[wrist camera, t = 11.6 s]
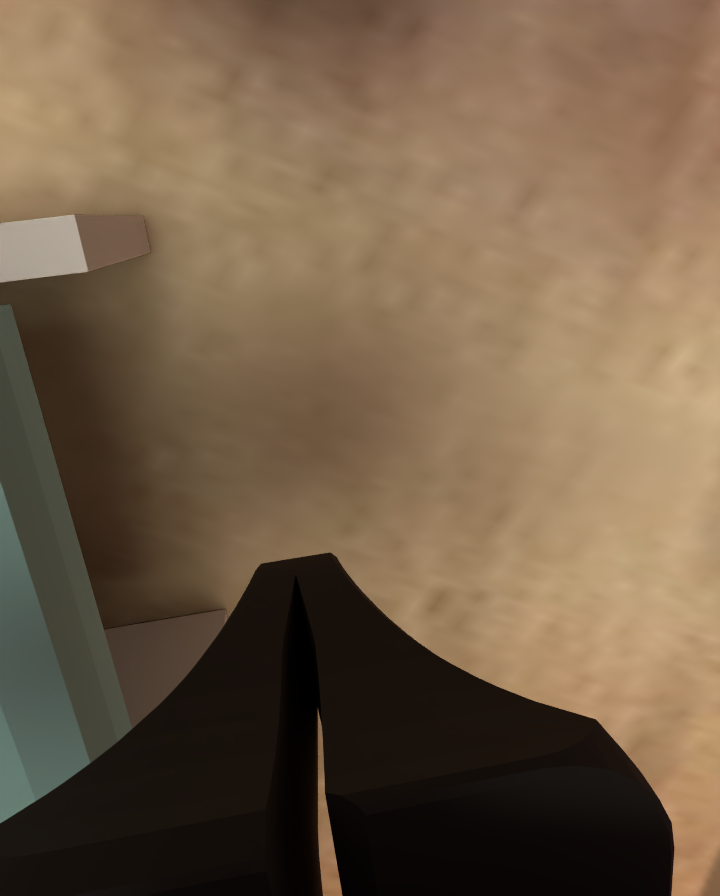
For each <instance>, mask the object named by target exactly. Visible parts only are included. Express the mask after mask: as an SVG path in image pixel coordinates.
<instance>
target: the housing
mask: <svg viewBox="0 0 720 896" xmlns="http://www.w3.org/2000/svg"><path fill="white" fill-rule="evenodd" d="M148 253H151V252H150V247H149V242H148V237H147V233H146V228H145V223H144V218H143V216H142V215H75V214H74V215H66V216H57V217H48V218H40V219H31V220H22V221H14V222H5V223H0V282H8V281H16V280H25V279H33V278H41V277H49V276H57V275H65V274H73V273H81V272H89V271H92V270H95V269H99V268H102V267H105V266H109V265H112V264H115V263H119V262H122V261H125V260H128V259H132V258H135V257H138V256H142V255H145V254H148ZM227 620H228V618H227V613H226V609H223V610H217V611H211V612H205V613H199V614H193V615H188V616H182V617H176V618H170V619H164V620H158V621H152V622H146V623H140V624H134V625H128V626H122V627H116V628H110V629H104V632H105V636H106V639H107V643H108V646H109V650H110V653H111V656H112V660H113V663H114V667H115V670H116V674H117V677H118V681H119V684H120V688H121V691H122V695H123V698H124V702H125V705H126V709H127V712H128V716H129V719H130V723H131V726H132V728H134V727H135V726H136V725H137V724H138V723H139V722H140V721H141V720H142V719H144V718H145V717H146V716H147V715H148V714H149V713H150V712H151V711H152V710H154V709H155V708H156V707H157V706H158V705H159V704H160V703H161V702H162V701H163V700H164V699H165V698H166V697H167V696H168V695H169V694H170V693H171V692H172V691H173V690H174V689H175V688H176V687H177V685H178V684H179V683H180V682H181V681H182V680H183V679H184V678H185V677H186V676H187V674H188V673H189V672H190V671H191V669H192V668H193V667H194V666H195V665H196V663H197V662H198V661H199V659H200V658H201V657H202V655H203V654H204V653H205V651H206V650H207V649H208V647H209V646H210V645H211V643H212V642H213V640H214V639H215V638H216V636H217V635H218V634H219V632H220V631H221V629H222V628H223V626H224V625H225V623H226V621H227Z"/></svg>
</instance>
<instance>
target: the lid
mask: <svg viewBox="0 0 720 896" xmlns="http://www.w3.org/2000/svg"><path fill="white" fill-rule="evenodd" d="M131 729H132V726H131V723H130V719H129V716H128V712H127V709H126V705H125V702H124V698H123V695H122V691H121V688H120V684H119V681H118V677H117V674H116V670H115V667H114V663H113V660H112V656H111V653H110V650H109V646H108V643H107V639H106V636H105V632H104V629H103V625H102V622H101V618H100V615H99V611H98V608H97V604H96V601H95V597H94V594H93V590H92V587H91V583H90V580H89V576H88V573H87V569H86V566H85V562H84V559H83V555H82V552H81V548H80V545H79V541H78V538H77V534H76V531H75V527H74V524H73V520H72V517H71V513H70V510H69V506H68V503H67V499H66V496H65V492H64V489H63V485H62V482H61V478H60V475H59V471H58V468H57V464H56V461H55V457H54V454H53V450H52V447H51V443H50V440H49V436H48V433H47V429H46V426H45V422H44V419H43V415H42V412H41V408H40V405H39V401H38V398H37V394H36V391H35V387H34V384H33V380H32V377H31V374H30V370H29V367H28V363H27V360H26V356H25V353H24V349H23V346H22V342H21V339H20V335H19V332H18V328H17V325H16V321H15V318H14V314H13V311H12V307H11V304H8V305H0V823H1V822H3V821H5V820H6V819H8V818H9V817H11V816H13V815H14V814H16V813H17V812H19V811H21V810H22V809H24V808H25V807H27V806H28V805H30V804H32V803H33V802H35V801H36V800H38V799H40V798H41V797H43V796H44V795H46V794H48V793H49V792H51V791H52V790H53V789H55V788H56V787H58V786H59V785H61V784H62V783H64V782H65V781H67V780H68V779H69V778H71V777H72V776H73V775H75V774H76V773H77V772H79V771H80V770H82V769H83V768H84V767H86V766H87V765H88V764H90V763H91V762H93V761H94V760H95V759H96V758H98V757H99V756H100V755H101V754H103V753H104V752H105V751H107V750H108V749H109V748H110V747H112V746H113V745H114V744H115V743H117V742H118V741H119V740H120V739H121V738H123V737H124V736H125V735H126V734H127V733H128V732H129V731H130V730H131Z"/></svg>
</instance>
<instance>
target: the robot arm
mask: <svg viewBox="0 0 720 896" xmlns="http://www.w3.org/2000/svg"><path fill="white" fill-rule="evenodd" d="M318 710H319V715H320V720H321V724H322V732H323V750H324V773H325V795H326V801H327V807H328V813H329V818H330V824H331V830H332V836H333V842H334V848H335V854H336V860H337V866H338V871H339V877H340V883H341V889H342V895H343V896H671V890H672V875H673V860H674V841H673V832H672V823H671V821H670V819H669V817H668V815H667V813H666V811H665V809H664V807H663V805H662V804H661V802H660V800H659V798H658V797H657V795H656V794H655V792H654V791H653V789H652V788H651V786H650V785H649V783H648V782H647V780H646V779H645V777H644V776H643V774H642V773H641V772H640V770H639V769H638V768H637V767H636V765H635V764H634V763H633V762H632V761H631V759H630V758H629V757H628V756H627V755H626V753H625V752H624V751H623V750H622V749H621V747H620V746H619V745H618V744H617V743H616V742H615V741H614V739H613V738H612V737H611V736H610V735H609V734H608V733H607V731H606V730H605V729H604V728H603V727H602V726H601V725H600V723H599V722H598V721H597V720H596V719H593V718H589V717H586V716H582V715H579V714H576V713H572V712H569V711H566V710H562V709H559V708H555V707H552V706H549V705H545V704H542V703H538V702H535V701H533V700H530V699H527V698H525V697H522V696H519V695H517V694H514V693H512V692H509V691H507V690H504V689H502V688H499V687H497V686H495V685H492V684H490V683H488V682H486V681H484V680H481V679H479V678H477V677H475V676H473V675H471V674H469V673H468V672H466V671H464V670H462V669H460V668H458V667H456V666H454V665H453V664H451V663H449V662H447V661H445V660H444V659H442V658H440V657H439V656H437V655H435V654H434V653H432V652H431V651H430V650H428V649H427V648H425V647H424V646H422V645H421V644H420V643H418V642H417V641H416V640H414V639H413V638H412V637H410V636H409V635H408V634H407V633H405V632H404V631H403V630H402V629H401V628H399V627H398V626H397V625H396V624H395V623H394V622H393V621H391V620H390V619H389V618H388V617H387V616H386V615H385V614H384V613H383V612H382V611H381V610H380V609H378V608H377V606H376V605H375V604H374V603H373V602H372V601H371V600H370V599H369V598H368V597H367V596H366V595H365V594H364V593H363V592H362V591H361V590H360V588H359V587H358V586H357V585H356V584H355V583H354V581H353V580H352V579H351V578H350V576H349V575H348V574H347V572H346V571H345V570H344V568H343V567H342V565H341V564H340V562H339V560H338V558H337V557H336V556H334V555H333V554H332V553H324V554H318V555H312V556H306V557H300V558H294V559H287V560H281V561H275V562H269V563H263V564H261V565H260V566H259V567H258V568H257V570H256V571H255V573H254V575H253V577H252V579H251V581H250V583H249V585H248V586H247V588H246V590H245V592H244V594H243V595H242V597H241V599H240V601H239V602H238V604H237V606H236V607H235V609H234V610H233V612H232V614H231V615H230V617H229V618H228V620H227V621H226V623H225V625H224V626H223V628H222V629H221V631H220V632H219V634H218V635H217V636H216V638H215V639H214V640H213V642H212V643H211V645H210V646H209V647H208V649H207V650H206V651H205V653H204V654H203V655H202V657H201V658H200V659H199V661H198V662H197V663H196V665H195V666H194V667H193V668H192V669H191V671H190V672H189V673H188V674H187V676H186V677H185V678H184V679H183V680H182V681H181V682H180V683H179V684H178V685H177V687H176V688H175V689H174V690H173V691H172V692H171V693H170V694H169V695H168V696H167V697H166V698H165V699H164V700H163V701H162V702H161V703H160V704H159V705H158V706H157V707H156V708H155V709H154V710H152V711H151V712H150V713H149V714H148V715H147V716H146V717H145V718H144V719H142V720H141V721H140V722H139V723H138V724H137V725H136V726H135V727H134V728H132V729H131V730H130V731H129V732H128V733H127V734H126V735H125V736H124V737H123V738H121V739H120V740H119V741H118V742H117V743H115V744H114V745H113V746H112V747H110V748H109V749H108V750H107V751H105V752H104V753H103V754H101V755H100V756H99V757H98V758H96V759H95V760H94V761H93V762H91V763H90V764H88V765H87V766H86V767H84V768H83V769H82V770H80V771H79V772H77V773H76V774H75V775H73V776H72V777H71V778H69V779H68V780H67V781H65V782H64V783H62V784H61V785H59V786H58V787H56V788H55V789H53V790H52V791H51V792H49V793H48V794H46V795H44V796H43V797H41V798H40V799H38V800H36V801H35V802H33V803H32V804H30V805H28V806H27V807H25V808H24V809H22V810H21V811H19V812H17V813H16V814H14V815H13V816H11V817H9V818H8V819H6V820H5V821H3V822H1V823H0V896H323V892H322V882H321V871H320V861H319V844H318Z"/></svg>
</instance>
